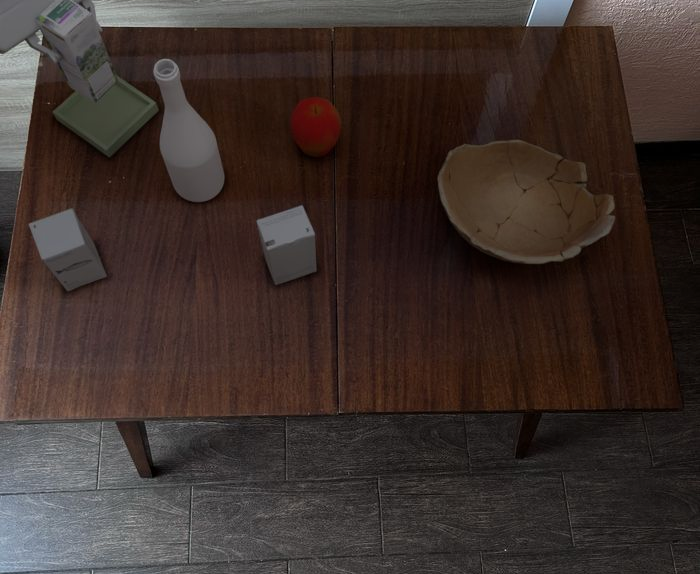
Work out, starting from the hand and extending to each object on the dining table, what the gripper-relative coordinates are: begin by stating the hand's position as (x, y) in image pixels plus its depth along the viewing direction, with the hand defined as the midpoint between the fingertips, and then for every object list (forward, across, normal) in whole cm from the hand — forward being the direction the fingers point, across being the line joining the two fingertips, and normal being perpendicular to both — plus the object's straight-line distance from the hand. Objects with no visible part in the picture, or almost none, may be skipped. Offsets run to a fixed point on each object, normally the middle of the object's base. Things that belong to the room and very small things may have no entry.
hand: (79, 47), depth 103 cm
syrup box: (+6, 0, +6) cm, 9 cm away
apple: (+36, +27, +4) cm, 45 cm away
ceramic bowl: (+62, +41, -21) cm, 77 cm away
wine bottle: (+29, +6, +11) cm, 32 cm away
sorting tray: (+12, +3, +27) cm, 30 cm away
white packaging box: (+28, -20, +12) cm, 37 cm away
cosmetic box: (+46, +6, -6) cm, 47 cm away
